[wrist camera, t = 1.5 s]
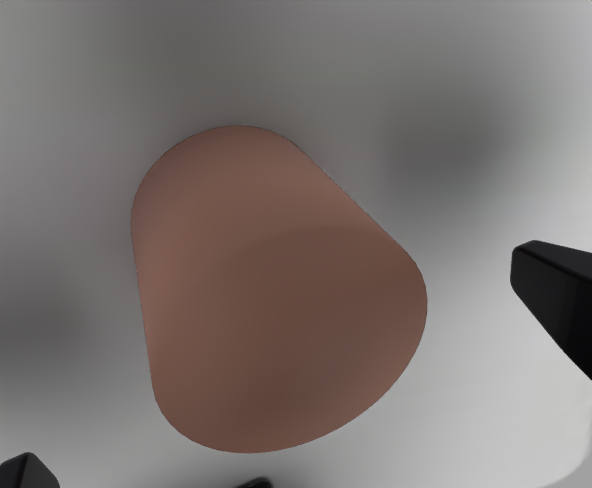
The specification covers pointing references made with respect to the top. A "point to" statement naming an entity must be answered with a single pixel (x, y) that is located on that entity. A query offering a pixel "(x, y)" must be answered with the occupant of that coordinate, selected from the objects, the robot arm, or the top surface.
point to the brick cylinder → (266, 293)
